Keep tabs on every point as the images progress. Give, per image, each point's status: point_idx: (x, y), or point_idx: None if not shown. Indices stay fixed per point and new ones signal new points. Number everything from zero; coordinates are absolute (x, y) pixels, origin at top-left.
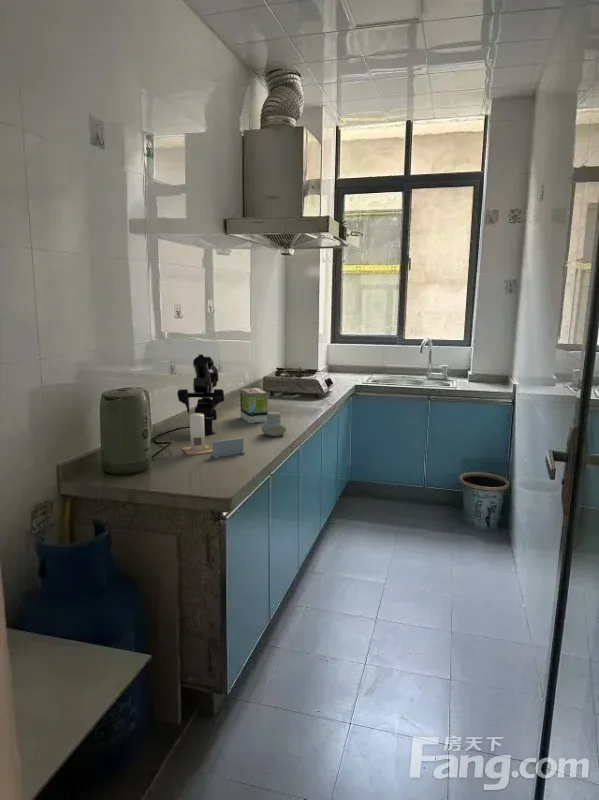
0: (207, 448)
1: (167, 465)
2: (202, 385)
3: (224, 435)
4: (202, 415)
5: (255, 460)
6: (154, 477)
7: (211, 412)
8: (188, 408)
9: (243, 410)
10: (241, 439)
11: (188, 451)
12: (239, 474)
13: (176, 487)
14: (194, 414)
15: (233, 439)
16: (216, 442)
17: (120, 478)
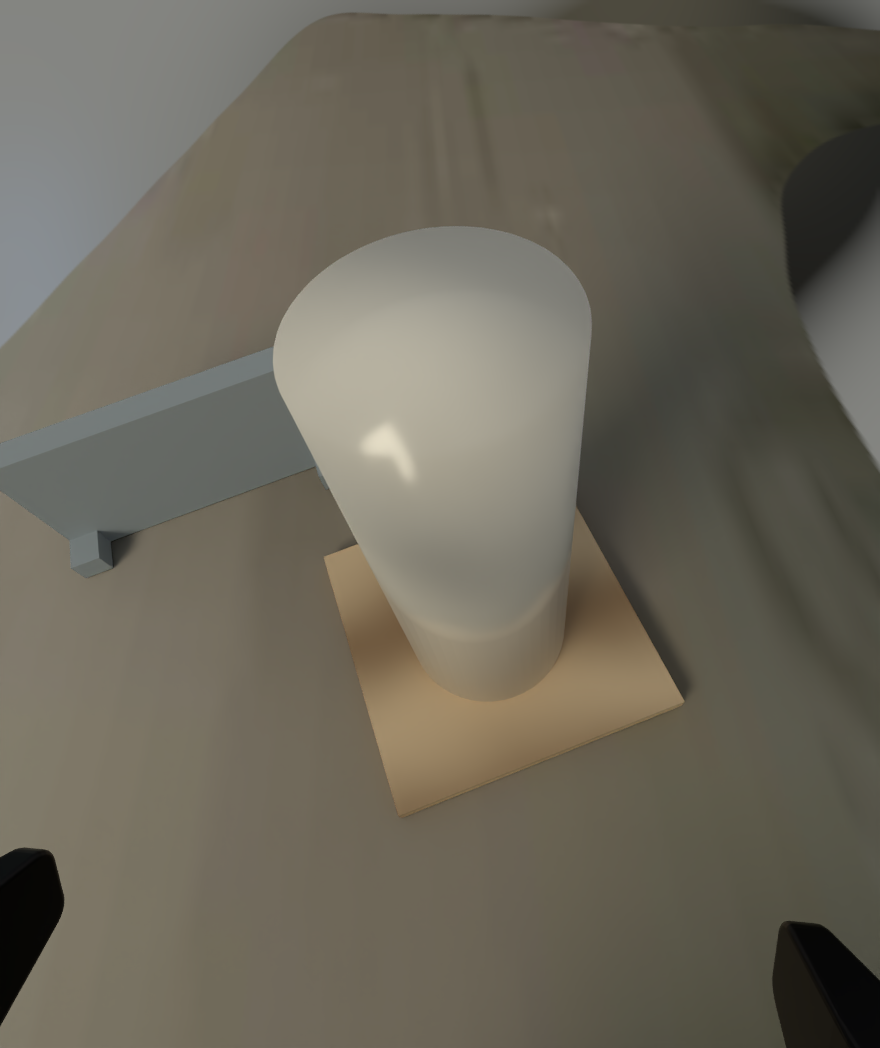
0: (386, 647)
1: (679, 281)
2: None
3: None
4: (311, 292)
5: (59, 375)
6: (692, 126)
7: (35, 866)
8: (865, 1039)
9: None
10: (7, 446)
11: (577, 554)
12: (220, 185)
13: (533, 54)
14: (485, 347)
15: (85, 418)
16: (267, 355)
17: None
